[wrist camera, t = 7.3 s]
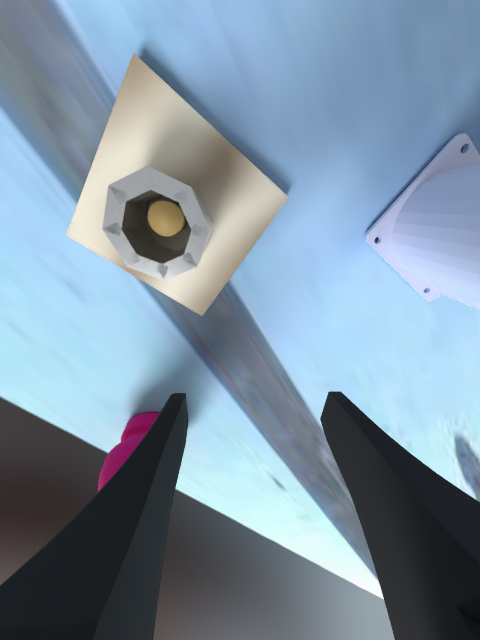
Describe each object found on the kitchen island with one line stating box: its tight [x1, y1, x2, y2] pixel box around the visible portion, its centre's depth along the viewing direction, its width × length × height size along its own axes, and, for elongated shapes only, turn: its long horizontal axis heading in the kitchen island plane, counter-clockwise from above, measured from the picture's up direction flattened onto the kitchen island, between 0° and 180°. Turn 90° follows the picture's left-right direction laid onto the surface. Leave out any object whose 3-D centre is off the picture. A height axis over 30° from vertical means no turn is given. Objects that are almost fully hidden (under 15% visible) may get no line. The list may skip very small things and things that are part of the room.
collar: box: [102, 166, 213, 281], centre depth 13 cm, size 5×5×4 cm
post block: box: [66, 53, 289, 316], centre depth 14 cm, size 11×11×4 cm
